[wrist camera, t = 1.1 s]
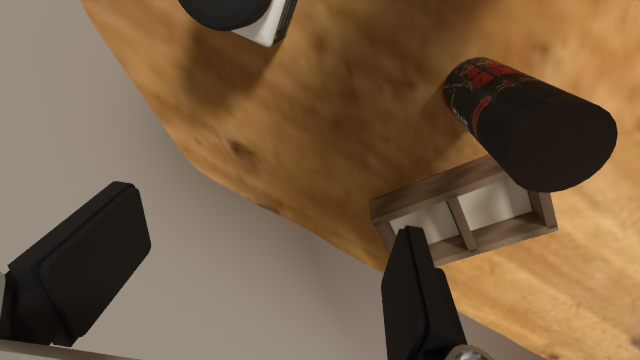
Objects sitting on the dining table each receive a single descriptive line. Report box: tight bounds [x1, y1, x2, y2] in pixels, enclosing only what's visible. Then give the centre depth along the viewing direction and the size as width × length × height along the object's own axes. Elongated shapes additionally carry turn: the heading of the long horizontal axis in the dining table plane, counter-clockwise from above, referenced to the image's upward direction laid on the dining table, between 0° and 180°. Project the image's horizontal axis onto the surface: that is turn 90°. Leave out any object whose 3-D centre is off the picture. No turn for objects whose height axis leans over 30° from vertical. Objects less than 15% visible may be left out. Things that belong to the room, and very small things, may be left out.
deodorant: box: [443, 57, 618, 193], centre depth 25 cm, size 6×6×15 cm
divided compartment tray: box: [370, 154, 558, 267], centre depth 37 cm, size 18×10×4 cm, turn 119°
